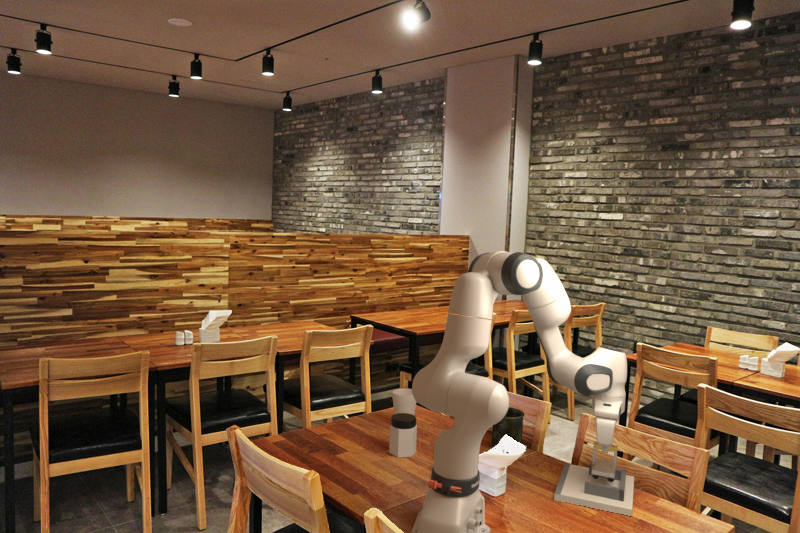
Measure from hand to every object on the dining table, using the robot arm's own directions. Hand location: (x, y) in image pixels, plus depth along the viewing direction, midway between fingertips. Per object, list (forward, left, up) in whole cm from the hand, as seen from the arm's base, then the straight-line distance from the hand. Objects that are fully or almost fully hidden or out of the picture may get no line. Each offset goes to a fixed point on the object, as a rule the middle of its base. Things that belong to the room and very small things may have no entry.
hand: (605, 450), depth 163 cm
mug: (+19, +33, -13) cm, 40 cm away
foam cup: (+21, +71, -13) cm, 75 cm away
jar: (-1, +62, -13) cm, 63 cm away
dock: (0, +2, -13) cm, 13 cm away
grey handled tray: (0, 0, -8) cm, 8 cm away
